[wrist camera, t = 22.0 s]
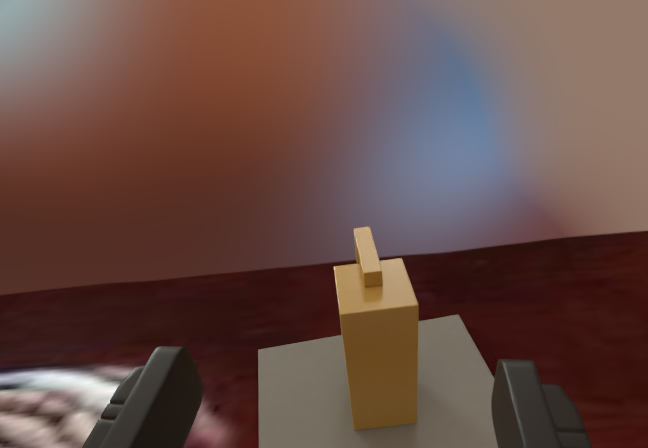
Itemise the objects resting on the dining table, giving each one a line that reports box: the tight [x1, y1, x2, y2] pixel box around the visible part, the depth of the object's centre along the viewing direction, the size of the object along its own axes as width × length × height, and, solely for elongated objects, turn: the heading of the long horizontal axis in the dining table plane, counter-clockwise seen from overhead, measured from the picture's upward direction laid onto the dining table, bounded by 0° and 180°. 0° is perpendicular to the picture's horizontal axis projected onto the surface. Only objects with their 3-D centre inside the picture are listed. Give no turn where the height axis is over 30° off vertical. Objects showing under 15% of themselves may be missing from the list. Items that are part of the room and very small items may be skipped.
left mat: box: [258, 315, 498, 448], centre depth 30 cm, size 16×12×1 cm
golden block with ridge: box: [334, 227, 419, 430], centre depth 27 cm, size 4×6×11 cm, turn 3°
